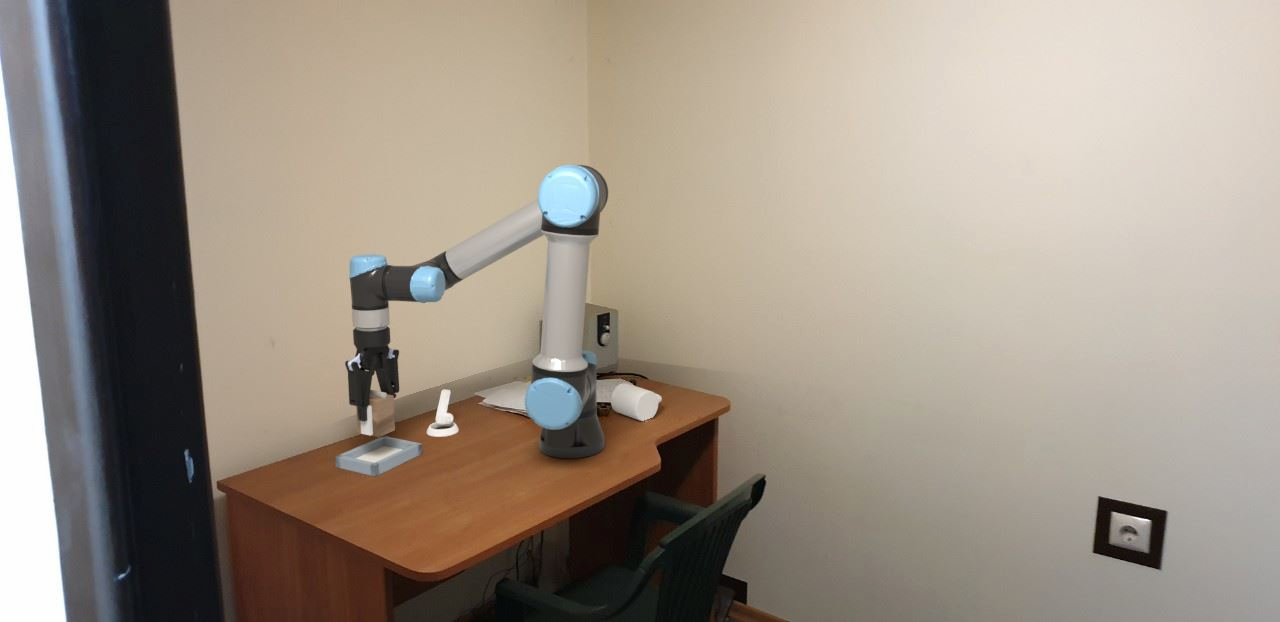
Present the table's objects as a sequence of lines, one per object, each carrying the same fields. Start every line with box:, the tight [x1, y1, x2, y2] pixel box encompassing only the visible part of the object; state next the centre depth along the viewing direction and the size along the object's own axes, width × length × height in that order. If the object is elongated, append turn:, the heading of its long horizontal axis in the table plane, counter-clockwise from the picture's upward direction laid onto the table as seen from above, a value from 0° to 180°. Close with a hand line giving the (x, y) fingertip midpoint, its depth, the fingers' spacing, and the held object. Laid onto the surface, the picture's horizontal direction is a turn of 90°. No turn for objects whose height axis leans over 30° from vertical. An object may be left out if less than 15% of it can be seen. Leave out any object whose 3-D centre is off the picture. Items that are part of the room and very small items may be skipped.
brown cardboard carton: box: [355, 389, 396, 438], centre depth 169 cm, size 6×5×9 cm
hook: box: [426, 389, 459, 438], centre depth 191 cm, size 8×12×7 cm
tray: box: [334, 435, 423, 477], centre depth 171 cm, size 11×14×2 cm
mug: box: [610, 382, 663, 422], centre depth 202 cm, size 12×10×8 cm
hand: (376, 429), depth 170 cm, fingers closed on brown cardboard carton, 5 cm apart
